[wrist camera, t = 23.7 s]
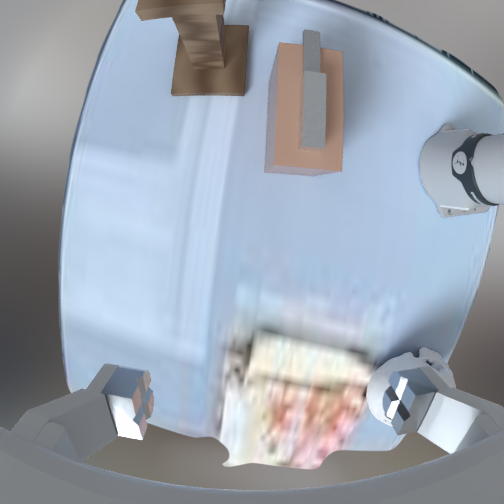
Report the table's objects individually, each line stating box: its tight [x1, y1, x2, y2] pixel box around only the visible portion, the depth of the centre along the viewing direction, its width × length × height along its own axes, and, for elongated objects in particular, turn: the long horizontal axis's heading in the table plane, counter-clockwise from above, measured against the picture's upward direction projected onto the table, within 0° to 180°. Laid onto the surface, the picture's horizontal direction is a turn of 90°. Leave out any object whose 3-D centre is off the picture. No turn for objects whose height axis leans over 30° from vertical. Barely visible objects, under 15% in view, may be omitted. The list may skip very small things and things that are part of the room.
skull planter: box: [367, 347, 456, 426], centre depth 51 cm, size 14×20×19 cm
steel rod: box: [298, 30, 326, 151], centre depth 29 cm, size 2×16×2 cm, turn 177°
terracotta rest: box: [264, 42, 344, 176], centre depth 38 cm, size 8×16×15 cm, turn 177°
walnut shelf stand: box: [135, 0, 249, 96], centre depth 28 cm, size 12×14×28 cm
